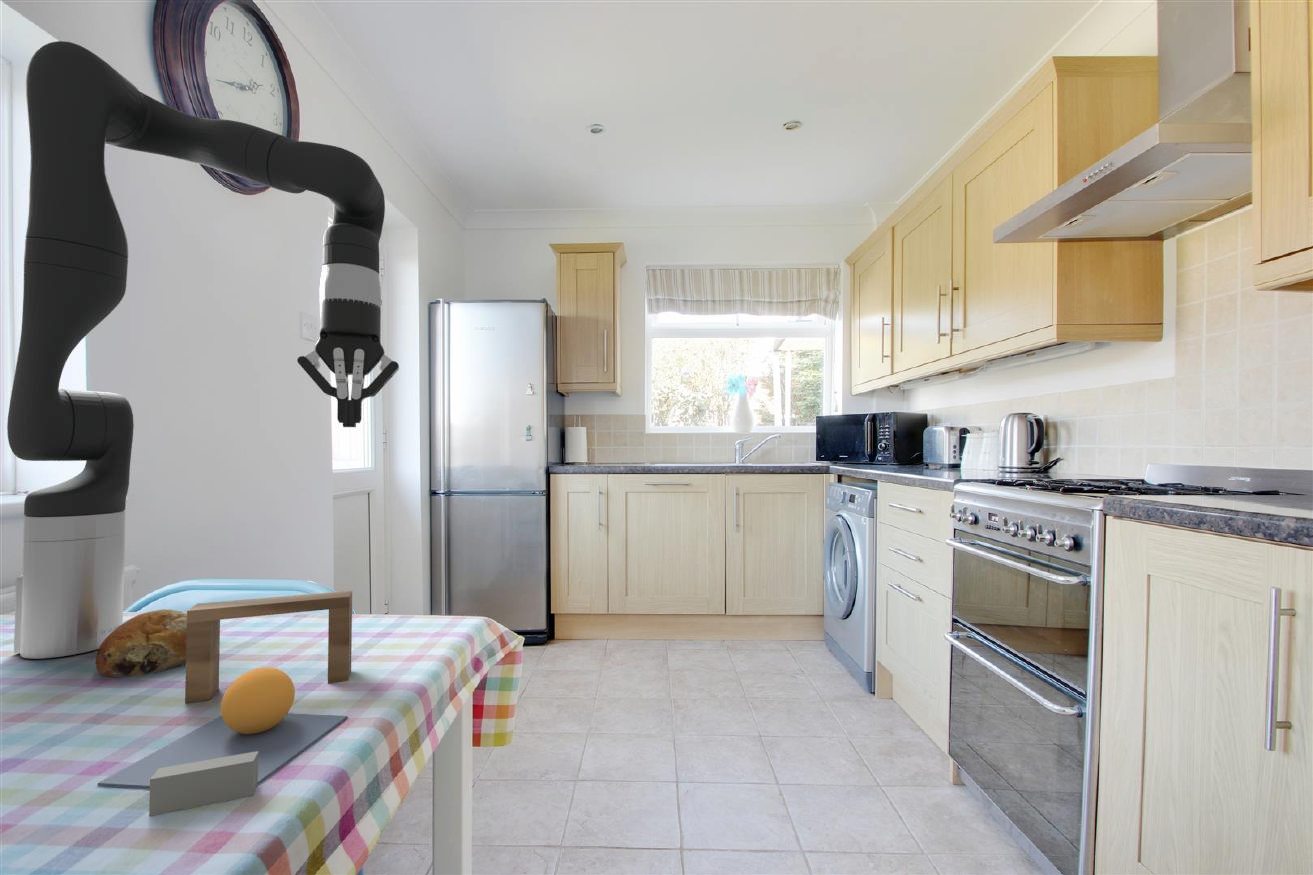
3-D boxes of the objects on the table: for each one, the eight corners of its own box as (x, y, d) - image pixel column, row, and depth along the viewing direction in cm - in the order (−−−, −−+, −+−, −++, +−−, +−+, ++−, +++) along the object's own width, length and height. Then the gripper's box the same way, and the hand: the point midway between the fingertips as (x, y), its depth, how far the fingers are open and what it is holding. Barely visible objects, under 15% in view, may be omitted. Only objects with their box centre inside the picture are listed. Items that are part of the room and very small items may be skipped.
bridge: (195, 691, 60) (197, 603, 60) (351, 670, 66) (352, 590, 66) (185, 703, 57) (186, 610, 57) (348, 680, 63) (349, 596, 63)
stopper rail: (158, 803, 41) (158, 768, 41) (257, 784, 43) (258, 750, 43) (149, 815, 39) (150, 779, 39) (252, 795, 42) (253, 760, 42)
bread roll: (214, 684, 71) (238, 617, 75) (140, 677, 62) (172, 602, 65) (142, 680, 72) (169, 615, 76) (59, 674, 63) (94, 600, 66)
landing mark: (97, 785, 43) (97, 782, 43) (229, 712, 55) (229, 710, 55) (245, 793, 42) (245, 790, 42) (347, 717, 54) (347, 715, 54)
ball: (209, 674, 51) (211, 737, 51) (235, 685, 48) (237, 752, 48) (277, 655, 55) (279, 712, 55) (305, 663, 52) (307, 724, 52)
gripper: (290, 291, 73) (288, 425, 73) (402, 301, 79) (400, 426, 78) (301, 305, 80) (299, 427, 80) (403, 313, 86) (402, 428, 85)
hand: (349, 426), depth 79 cm, fingers closed
